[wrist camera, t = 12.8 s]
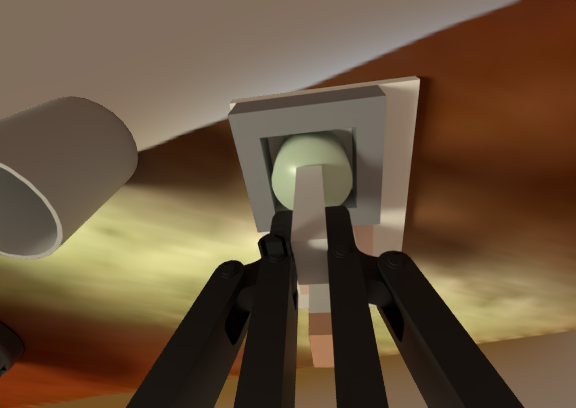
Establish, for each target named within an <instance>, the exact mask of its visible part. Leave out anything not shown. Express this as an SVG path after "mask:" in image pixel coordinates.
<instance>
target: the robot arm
mask: <svg viewBox="0 0 576 408" xmlns="http://www.w3.org/2000/svg"><path fill="white" fill-rule="evenodd" d="M258 246H259V250H260V254H261V259H259V260H258V261H256V262H253V263H251V264H247V265H243V264H242V263H241V262H239V261H236V260H230V261H227V262H224V263H222V264H221V265H219V266H218V267H217V268H216V270H215V271H214V273H213V274H212V276H211V277H210V279H209V280H208V282H207V283H206V285H205V287H204V288H203V290H202V291H201V293H200V294H199V296H198V297H197V299H196V300H195V302H194V303H193V305H192V307H191V308H190V310H189V311H188V313H187V314H186V316H185V317H184V319H183V320H182V322H181V323H180V325H179V327H178V328H177V330H176V331H175V333H174V334H173V336H172V337H171V339H170V340H169V342H168V344H167V345H166V347H165V348H164V350H163V351H162V353H161V354H160V356H159V357H158V359H157V360H156V362H155V364H154V365H153V367H152V368H151V370H150V371H149V373H148V374H147V376H146V377H145V379H144V380H143V382H142V384H141V385H140V387H139V388H138V390H137V391H136V393H135V394H134V396H133V397H132V399H131V400H130V402H129V404H128V405H127V407H126V408H214V406H215V403H216V401H217V399H218V397H219V395H220V392H221V390H222V388H223V386H224V383H225V381H226V379H227V376H228V374H229V372H230V370H231V367H232V365H233V363H234V361H235V358H236V356H237V354H238V351H239V349H240V347H241V345H242V342H243V340H244V338H245V336H246V333H247V338H246V343H245V348H244V354H243V359H242V365H241V370H240V375H239V381H238V386H237V392H236V397H235V403H234V408H295V381H296V352H297V324H298V289H297V280H298V285H310V284H329V292H330V308H331V323H332V339H333V354H334V368H335V369H334V370H335V384H336V399H337V408H389V407H388V402H387V397H386V392H385V386H384V381H383V376H382V371H381V365H380V360H379V355H378V350H377V344H376V339H375V334H374V329H373V324H372V318H371V313H370V308H369V304H372V305H376V306H377V309H378V311H379V313H380V315H381V317H382V319H383V321H384V322H385V324H386V326H387V328H388V330H389V332H390V334H391V336H392V338H393V340H394V342H395V344H396V346H397V348H398V350H399V352H400V354H401V355H402V357H403V359H404V361H405V363H406V365H407V367H408V369H409V371H410V373H411V375H412V377H413V379H414V381H415V383H416V385H417V386H418V389H419V391H420V393H421V394H422V396H423V398H424V400H425V402H426V404H427V406H428V408H524V407H523V405H522V404H521V403H520V401H519V400H518V399H517V397H516V396H515V395H514V393H513V392H512V391H511V389H510V388H509V387H508V385H507V384H506V383H505V382H504V380H503V379H502V378H501V376H500V375H499V374H498V373H497V371H496V370H495V368H494V367H493V366H492V364H491V363H490V362H489V360H488V359H487V358H486V357H485V355H484V354H483V353H482V351H481V350H480V349H479V347H478V346H477V345H476V343H475V342H474V341H473V339H472V338H471V337H470V335H469V334H468V333H467V331H466V330H465V329H464V328H463V326H462V325H461V324H460V322H459V321H458V320H457V318H456V317H455V316H454V314H453V313H452V312H451V310H450V309H449V308H448V306H447V305H446V304H445V302H444V301H443V300H442V299H441V297H440V296H439V295H438V293H437V292H436V291H435V289H434V288H433V287H432V285H431V284H430V283H429V281H428V280H427V279H426V277H425V276H424V275H423V274H422V272H421V271H420V270H419V268H418V267H417V266H416V264H415V263H414V262H413V260H412V259H411V258H410V257H409V256H408V255H407V254H405V253H402V252H400V251H394V250H393V251H386V252H384V253H382V254H381V255H380V256H379V257H376V256H371V255H367V254H365V253H363V252H361V251H360V250H359V249H358V248H357V246H356V244H355V239H354V233H353V228H352V223H351V217H350V212H349V210H348V209H347V208H346V207H345V206H344V205H342V206H329V207H325V200H324V188H323V176H322V165H315V166H305V167H297V168H296V180H295V193H294V205H293V210H286V211H277V212H276V213H275V215H274V216H273V217H272V222H271V228H270V233H268V234H266V235H264V236H263V237H262V238H261V239H260V240H259V242H258ZM247 331H248V332H247ZM23 352H24V347H23V344H22V342H21V341H20V339H19V338H18V337H17V336H16V335H15V334H14V333H13V332H12V331H11V330H9V329H8V328H7V327H6V326H4V325H3V324H1V323H0V377H1V376H2V375H3V374H5V373H6V372H7V371H9V370H10V369H11V368H12V366H13V365H14V364H15V363H16V362H17V360H18V359H19V358H20V357H21V355H22V354H23Z"/></svg>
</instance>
